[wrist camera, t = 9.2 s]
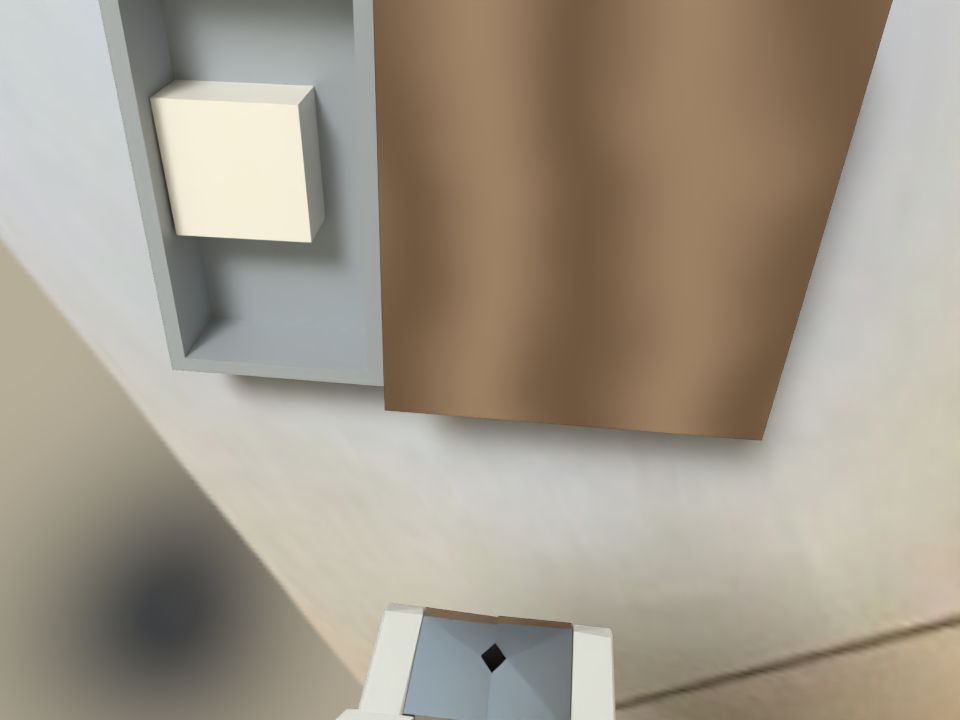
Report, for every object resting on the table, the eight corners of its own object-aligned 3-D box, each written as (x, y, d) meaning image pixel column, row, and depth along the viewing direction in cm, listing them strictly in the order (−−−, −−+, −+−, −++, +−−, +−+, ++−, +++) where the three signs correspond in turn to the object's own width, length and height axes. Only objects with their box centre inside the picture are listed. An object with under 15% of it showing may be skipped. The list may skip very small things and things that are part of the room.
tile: (149, 97, 28) (174, 79, 30) (176, 235, 31) (198, 210, 32) (297, 104, 28) (313, 86, 29) (311, 242, 30) (325, 217, 32)
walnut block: (847, -61, 26) (903, -34, 22) (737, 364, 35) (761, 440, 31) (400, -86, 27) (371, -64, 22) (404, 339, 35) (384, 410, 31)
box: (390, -86, 27) (370, -73, 24) (397, 338, 35) (383, 386, 33) (132, -101, 27) (80, -89, 24) (203, 323, 36) (172, 369, 33)
